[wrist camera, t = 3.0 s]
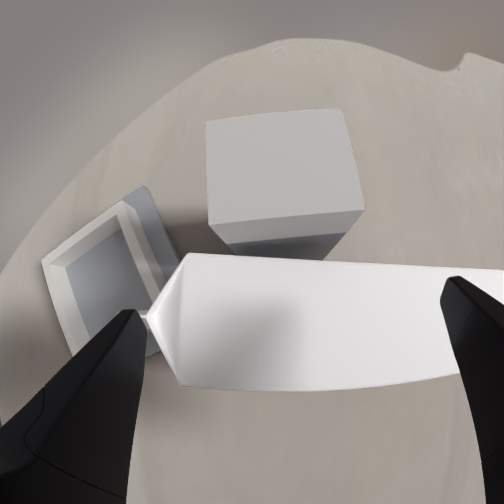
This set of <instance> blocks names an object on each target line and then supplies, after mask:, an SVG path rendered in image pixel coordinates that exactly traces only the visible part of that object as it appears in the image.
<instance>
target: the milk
mask: <svg viewBox="0 0 504 504" xmlns="http://www.w3.org/2000/svg"><path fill="white" fill-rule="evenodd" d="M452 276H461V277H463V278H464V279H466V280H468V281H469V282H471V283H472V284H474V285H475V286H477V287H478V288H480V289H481V290H483V291H484V292H486V293H487V294H489V295H490V296H492V297H493V298H495V299H496V300H498V301H499V302H501V303H502V304H504V270H491V269H471V268H452V267H432V266H413V265H395V264H376V263H358V262H340V261H322V260H305V259H287V258H270V257H253V256H237V255H220V254H203V253H187V254H186V256H185V257H184V258H183V260H182V261H181V263H180V264H179V266H178V267H177V268H176V270H175V271H174V273H173V274H172V276H171V277H170V279H169V280H168V282H167V283H166V285H165V286H164V288H163V289H162V291H161V292H160V294H159V295H158V297H157V298H156V300H155V301H154V303H153V304H152V306H151V308H150V309H149V310H140V311H138V313H139V315H140V316H141V318H145V319H146V321H147V323H148V325H149V327H150V329H151V331H152V333H153V335H154V337H155V339H156V341H157V343H158V345H159V347H160V349H161V351H162V353H163V355H164V357H165V359H166V361H167V362H168V364H169V366H170V368H171V370H172V372H173V373H174V375H175V377H176V379H177V381H178V382H179V384H180V385H181V386H186V387H196V388H207V389H220V390H236V391H261V392H305V391H331V390H346V389H359V388H370V387H379V386H387V385H395V384H403V383H409V382H416V381H422V380H428V379H433V378H439V377H444V376H449V375H453V374H458V373H460V371H459V368H458V365H457V362H456V359H455V356H454V353H453V350H452V346H451V343H450V339H449V335H448V331H447V327H446V324H445V320H444V317H443V313H442V310H441V306H440V296H441V294H442V291H443V288H444V285H445V282H446V280H447V278H448V277H452ZM118 313H119V312H117V314H118Z"/></svg>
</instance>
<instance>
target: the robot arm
mask: <svg viewBox="0 0 504 504" xmlns="http://www.w3.org/2000/svg"><path fill="white" fill-rule="evenodd" d="M440 306H441V310H442V313H443V317H444V320H445V324H446V327H447V331H448V335H449V339H450V343H451V346H452V350H453V353H454V356H455V359H456V362H457V365H458V368H459V371H460V374H461V377H462V381H463V384H464V387H465V391H466V394H467V398H468V402H469V405H470V409H471V413H472V417H473V422H474V426H475V431H476V435H477V440H478V445H479V451H480V457H481V461H482V462H481V464H482V470H483V478H484V486H485V496H486V504H504V304H502V303H501V302H499V301H498V300H496V299H495V298H493V297H492V296H490V295H489V294H487V293H486V292H484V291H483V290H481V289H480V288H478V287H477V286H475V285H474V284H472V283H471V282H469V281H468V280H466V279H464V278H463V277H461V276H452V277H448V278H447V280H446V282H445V285H444V288H443V291H442V294H441V296H440ZM146 344H147V328H146V326H145V324H144V322H143V320H142V318H141V316H140V315H139V313H138V311H137V310H136V309H123V310H121V311H120V312H119V313H118V314H117V315H116V316H115V317H114V318H113V319H112V320H111V321H110V322H108V323H107V324H106V325H105V326H104V327H103V328H102V329H101V330H100V331H99V332H98V333H97V334H96V335H95V336H94V337H93V338H92V339H91V340H90V341H89V342H88V343H87V344H86V345H85V346H84V347H83V348H82V349H80V350H79V351H78V352H77V353H76V354H75V355H74V356H73V357H72V358H71V359H70V360H69V361H68V362H67V363H66V364H65V365H64V366H63V367H62V368H61V369H60V370H59V371H58V372H57V373H56V374H55V375H54V376H53V377H52V379H51V380H50V381H49V382H48V383H47V384H46V385H45V387H43V388H42V389H41V390H40V391H39V392H38V393H37V394H36V395H35V396H34V397H33V398H32V399H31V400H30V401H29V402H28V403H27V404H26V405H25V406H24V407H23V408H22V409H21V410H20V411H19V412H18V413H16V414H15V415H14V416H13V417H12V418H11V419H10V420H9V421H8V422H7V423H5V424H4V425H3V426H2V427H1V428H0V504H126V496H127V486H128V476H129V468H130V460H131V452H132V445H133V438H134V431H135V424H136V418H137V412H138V406H139V400H140V395H141V389H142V384H143V376H144V365H145V354H146Z"/></svg>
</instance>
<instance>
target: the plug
mask: <svg viewBox="0 0 504 504" xmlns="http://www.w3.org/2000/svg"><path fill="white" fill-rule="evenodd" d="M206 169H207V200H208V224H209V226H210V227H211V228H212V229H213V230H214V232H215V233H216V234H217V235H218V236H219V237H220V238H221V239H222V240H223V241H224V242H225V244H226V245H227V246H228V247H229V248H230V249H231V250H232V251H233V252H234V253H235V254H236V255H237V256H253V257H270V258H287V259H305V260H323V259H324V258H325V257H326V256H327V254H328V253H329V252H330V251H331V250H332V249H333V248H334V246H335V245H336V244H337V243H338V242H339V241H340V239H341V238H342V237H343V236H344V235H345V234H346V232H347V231H348V230H349V229H350V228H351V227H352V225H353V224H354V223H355V222H356V221H357V219H358V218H359V217H360V216H361V215H362V213H363V212H364V211H365V205H364V200H363V195H362V190H361V185H360V180H359V176H358V171H357V167H356V162H355V158H354V154H353V150H352V146H351V142H350V138H349V135H348V131H347V127H346V123H345V120H344V116H343V113H342V110H341V109H313V110H296V111H283V112H272V113H263V114H254V115H245V116H238V117H231V118H224V119H217V120H211V121H206Z"/></svg>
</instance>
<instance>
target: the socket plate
mask: <svg viewBox="0 0 504 504" xmlns="http://www.w3.org/2000/svg"><path fill="white" fill-rule="evenodd" d="M41 262H42V266H43V270H44V274H45V278H46V281H47V285H48V288H49V292H50V295H51V298H52V301H53V305H54V308H55V311H56V314H57V317H58V319H59V322H60V325H61V328H62V331H63V333H64V336H65V339H66V341H67V344H68V346H69V349H70V351H71V354H72V356H74V355H75V354H76V353H77V352H78V351H79V350H80V349H82V348H83V347H84V346H85V345H86V344H87V343H88V342H89V341H90V340H91V339H92V338H93V337H94V336H95V335H96V334H97V333H98V332H99V331H100V330H101V329H102V328H103V327H104V326H105V325H106V324H107V323H108V322H110V321H111V320H112V319H113V318H114V317H115V316H116V315H117V312H120V311H121V310H123V309H136V310H137V311H140V310H149V309H150V308H151V306H152V304H153V303H154V301H155V300H156V298H157V297H158V295H159V294H160V292H161V291H162V289H163V288H164V286H165V285H166V283H167V282H168V280H169V279H170V277H171V276H172V274H173V273H174V271H175V270H176V268H177V267H178V266H179V264H180V263H181V260H180V258H179V256H178V254H177V252H176V250H175V248H174V246H173V243H172V241H171V239H170V237H169V235H168V233H167V230H166V228H165V226H164V224H163V222H162V219H161V217H160V215H159V213H158V210H157V208H156V206H155V204H154V201H153V199H152V197H151V194H150V192H149V190H148V188H147V187H145V186H142V187H141V188H139V189H137V190H136V191H134V192H133V193H131V194H130V195H128V196H127V197H125V198H124V199H122V200H121V201H119V202H118V203H116V204H115V205H113V206H112V207H111V208H109V209H108V210H106V211H105V212H103V213H102V214H101V215H99V216H98V217H96V218H95V219H94V220H92V221H91V222H89V223H88V224H87V225H85V226H84V227H83V228H81V229H80V230H79V231H77V232H76V233H75V234H73V235H72V236H71V237H69V238H68V239H67V240H66V241H64V242H63V243H62V244H60V245H59V246H58V247H57V248H55V249H54V250H53V251H52V252H50V253H49V254H48V255H47V256H46V257H44V258H43V259H42V260H41ZM142 320H143V322H144V324H145V326H146V328H147V344H146V354H145V358H147V357H149V356H151V355H153V354H155V353H157V352H159V351H161V349H160V347H159V345H158V343H157V341H156V339H155V337H154V335H153V333H152V331H151V329H150V327H149V325H148V323H147V321H146V319H145V318H142Z"/></svg>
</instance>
